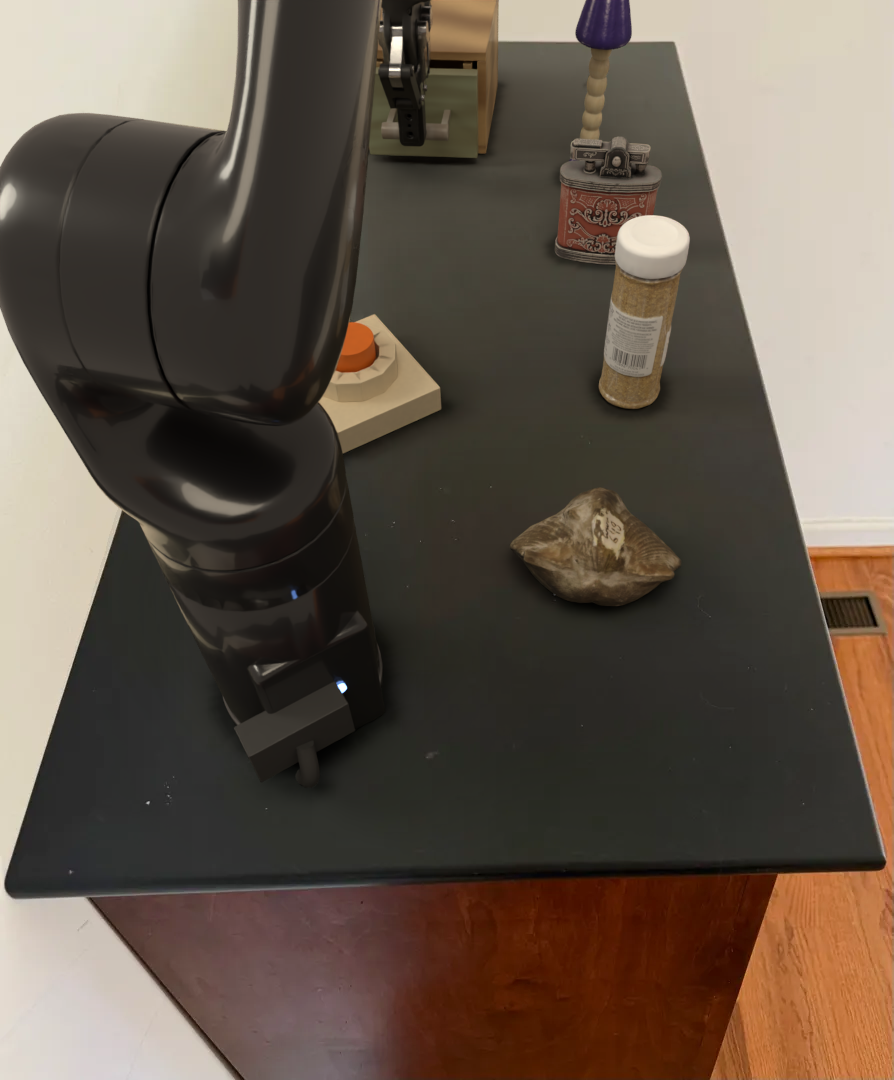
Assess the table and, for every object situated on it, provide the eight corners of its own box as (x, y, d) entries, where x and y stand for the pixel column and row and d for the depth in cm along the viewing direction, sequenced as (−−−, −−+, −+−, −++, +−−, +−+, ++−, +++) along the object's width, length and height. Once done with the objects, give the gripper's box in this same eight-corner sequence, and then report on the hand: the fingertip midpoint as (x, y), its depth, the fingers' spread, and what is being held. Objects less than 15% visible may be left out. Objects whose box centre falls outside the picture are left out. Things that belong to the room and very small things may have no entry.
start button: (384, 361, 65) (382, 343, 64) (340, 380, 64) (337, 361, 63) (361, 334, 67) (358, 315, 66) (317, 352, 66) (314, 333, 65)
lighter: (649, 244, 79) (667, 132, 71) (647, 267, 77) (666, 155, 69) (556, 237, 80) (564, 127, 72) (552, 260, 78) (560, 149, 70)
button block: (441, 409, 67) (439, 368, 64) (333, 458, 65) (325, 418, 61) (377, 335, 73) (372, 294, 69) (275, 378, 70) (265, 337, 67)
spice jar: (670, 387, 68) (705, 229, 57) (636, 421, 66) (665, 263, 55) (619, 361, 70) (643, 203, 59) (584, 393, 68) (603, 235, 57)
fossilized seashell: (489, 580, 55) (644, 652, 53) (529, 484, 52) (693, 557, 50) (518, 539, 61) (656, 601, 60) (554, 452, 59) (700, 515, 57)
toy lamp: (609, 163, 87) (632, -30, 74) (617, 190, 84) (642, -5, 71) (559, 166, 87) (573, -26, 74) (566, 193, 84) (581, -2, 71)
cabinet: (485, 153, 89) (486, 52, 81) (369, 150, 90) (358, 49, 82) (497, 86, 97) (498, -12, 89) (390, 83, 98) (382, -14, 90)
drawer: (472, 182, 84) (471, 98, 78) (362, 178, 85) (352, 95, 79) (489, 93, 94) (489, 13, 88) (390, 91, 95) (383, 11, 89)
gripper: (437, -44, 62) (446, 185, 76) (458, -116, 70) (463, 104, 84) (330, -45, 63) (358, 182, 77) (363, -116, 71) (383, 102, 85)
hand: (413, 141), depth 81 cm, fingers closed
